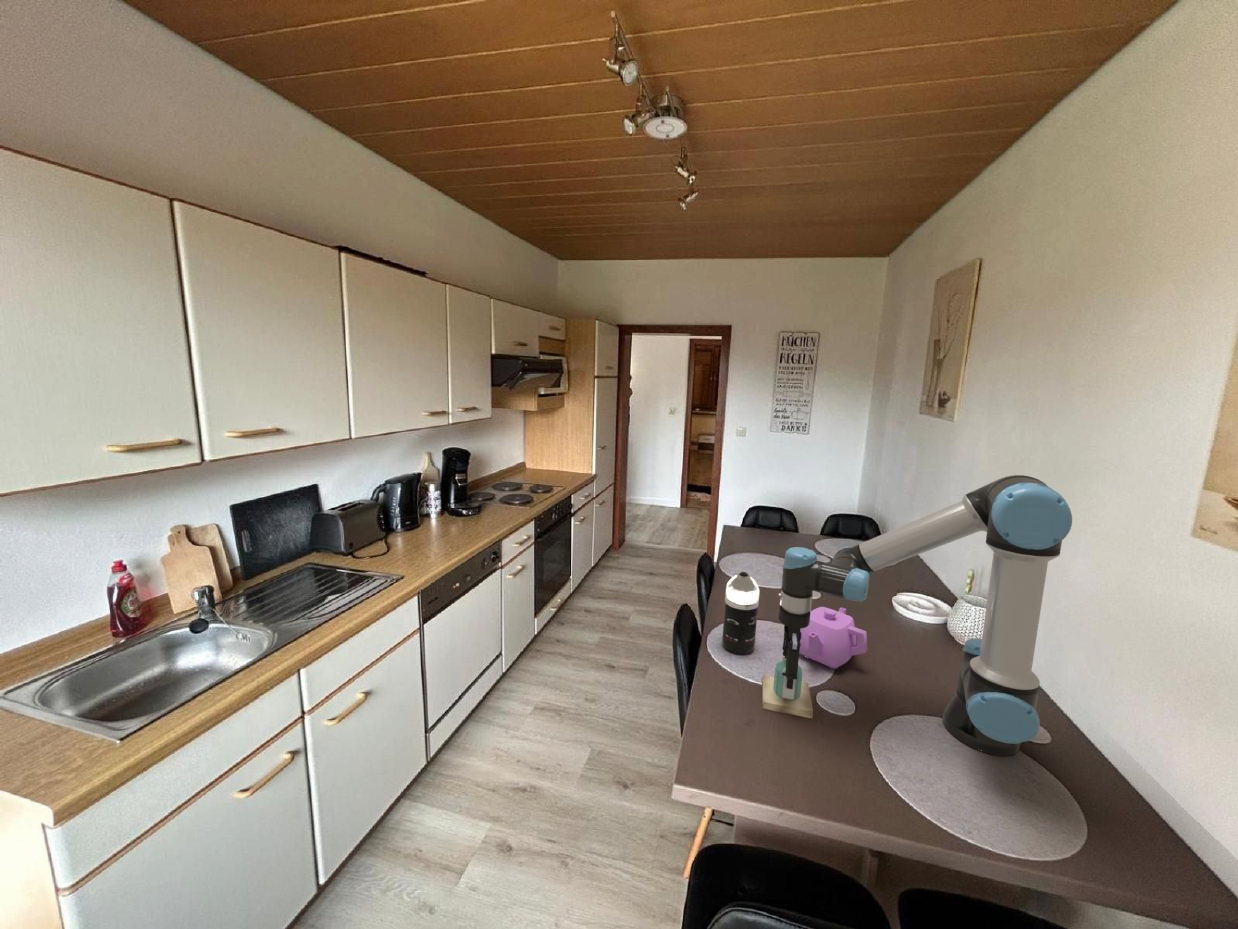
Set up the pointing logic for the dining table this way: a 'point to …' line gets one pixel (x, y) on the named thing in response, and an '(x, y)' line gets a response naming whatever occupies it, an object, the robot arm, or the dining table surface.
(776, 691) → the cap
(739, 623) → the black bottle
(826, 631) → the teapot
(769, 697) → the bolt post
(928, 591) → the dining table surface
